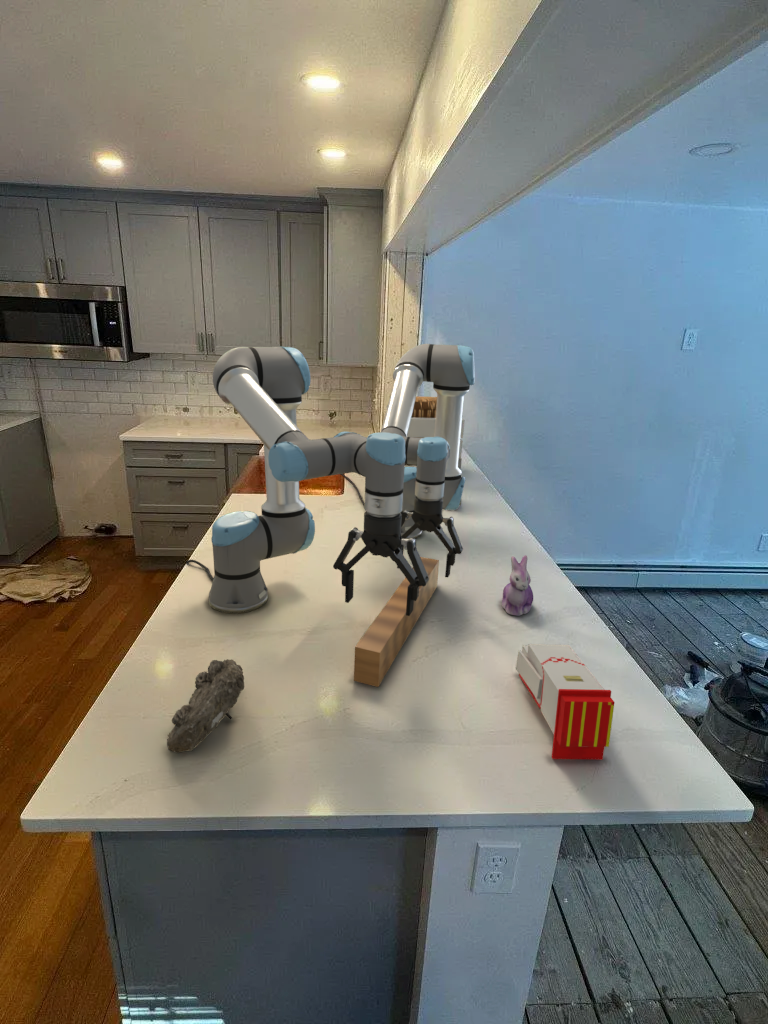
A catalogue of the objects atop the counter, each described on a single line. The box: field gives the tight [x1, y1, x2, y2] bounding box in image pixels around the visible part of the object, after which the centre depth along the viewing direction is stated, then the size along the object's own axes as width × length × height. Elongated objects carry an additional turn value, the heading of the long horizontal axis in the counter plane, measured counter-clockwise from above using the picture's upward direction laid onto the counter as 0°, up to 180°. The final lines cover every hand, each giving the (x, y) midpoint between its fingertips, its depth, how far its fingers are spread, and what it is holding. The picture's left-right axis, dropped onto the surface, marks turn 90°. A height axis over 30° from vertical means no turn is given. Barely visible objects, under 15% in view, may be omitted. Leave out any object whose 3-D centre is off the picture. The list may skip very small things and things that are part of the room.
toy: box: [515, 643, 615, 761], centre depth 113 cm, size 12×13×30 cm
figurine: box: [501, 555, 534, 617], centre depth 150 cm, size 9×10×15 cm
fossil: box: [166, 658, 245, 754], centre depth 106 cm, size 22×10×15 cm
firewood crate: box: [386, 395, 465, 471], centre depth 268 cm, size 34×33×41 cm
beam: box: [353, 556, 440, 688], centre depth 140 cm, size 50×6×8 cm, turn 161°
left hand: (378, 606), depth 120 cm, fingers open, 13 cm apart
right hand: (423, 571), depth 156 cm, fingers open, 13 cm apart
